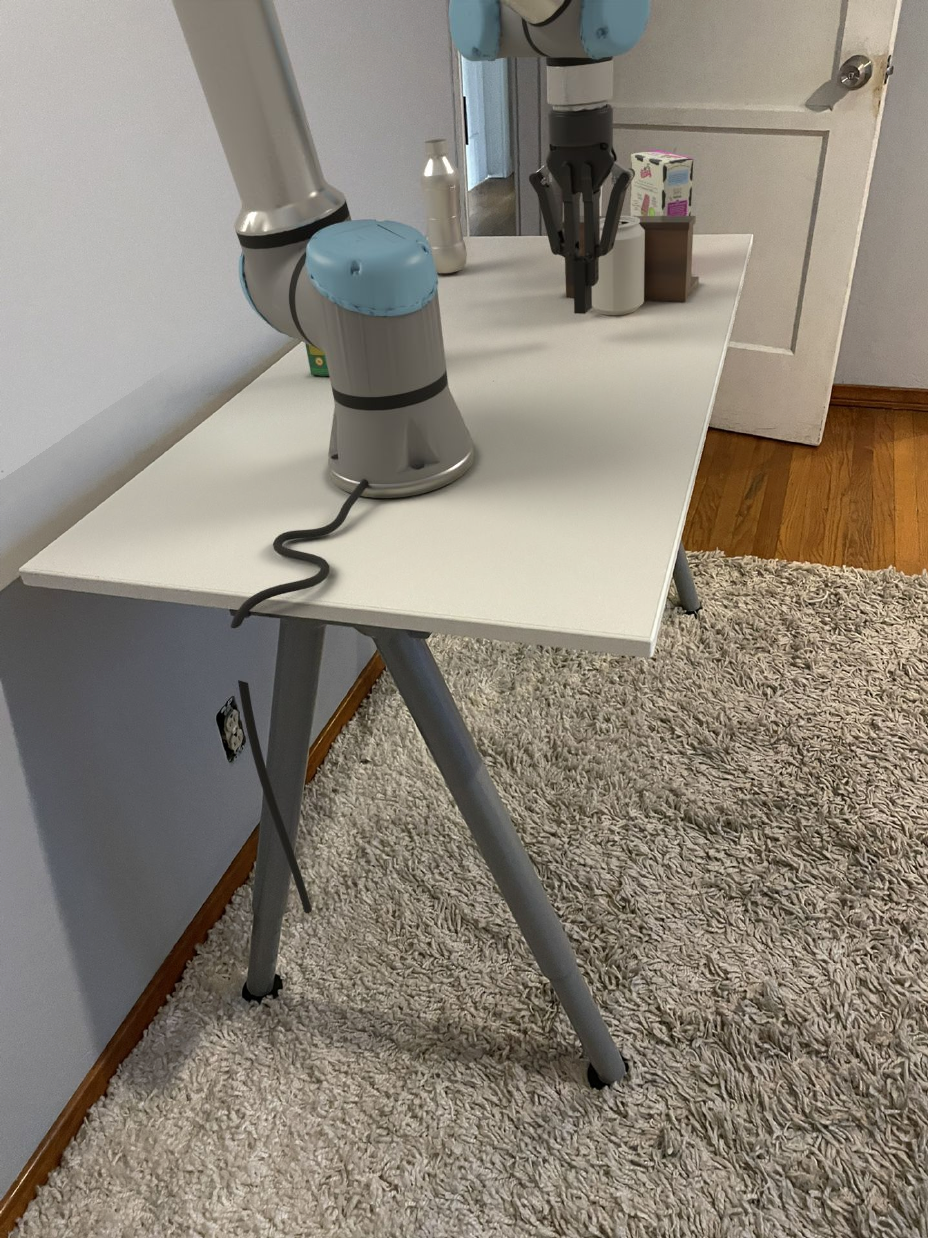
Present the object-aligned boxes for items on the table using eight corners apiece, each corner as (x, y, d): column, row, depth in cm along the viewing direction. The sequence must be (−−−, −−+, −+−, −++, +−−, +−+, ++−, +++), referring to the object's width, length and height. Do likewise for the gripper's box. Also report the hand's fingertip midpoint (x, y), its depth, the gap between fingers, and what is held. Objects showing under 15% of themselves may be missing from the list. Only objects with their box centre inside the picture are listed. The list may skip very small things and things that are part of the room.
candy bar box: (690, 275, 140) (695, 157, 131) (660, 281, 139) (663, 162, 130) (656, 258, 149) (658, 147, 139) (628, 264, 148) (628, 152, 139)
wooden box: (686, 302, 130) (689, 222, 124) (564, 298, 137) (561, 221, 131) (700, 284, 136) (703, 207, 130) (582, 281, 143) (580, 207, 137)
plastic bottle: (423, 272, 157) (407, 142, 145) (459, 263, 159) (446, 135, 147) (438, 280, 152) (423, 146, 140) (475, 271, 154) (463, 139, 142)
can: (647, 299, 133) (648, 211, 126) (640, 316, 127) (641, 225, 120) (595, 300, 135) (594, 213, 128) (586, 317, 129) (584, 227, 122)
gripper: (644, 97, 106) (640, 303, 120) (539, 102, 111) (546, 299, 125) (625, 107, 101) (622, 322, 114) (515, 112, 106) (526, 316, 119)
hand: (583, 310), depth 119 cm, fingers closed
